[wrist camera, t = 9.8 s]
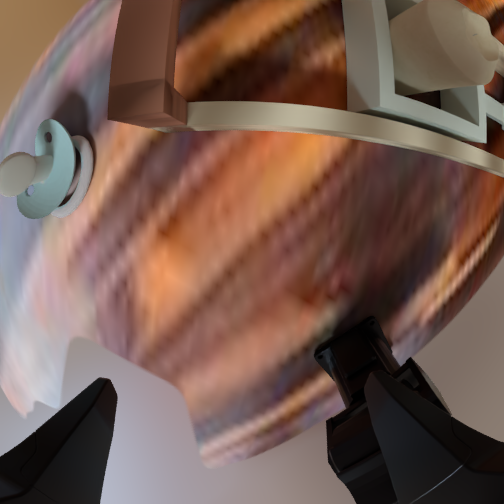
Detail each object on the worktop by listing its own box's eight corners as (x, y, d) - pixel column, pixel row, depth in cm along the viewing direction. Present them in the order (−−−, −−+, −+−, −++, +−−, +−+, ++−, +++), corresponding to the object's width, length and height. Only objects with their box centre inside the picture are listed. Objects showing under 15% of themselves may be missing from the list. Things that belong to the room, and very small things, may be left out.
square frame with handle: (509, 84, 14) (553, 85, 7) (512, 166, 18) (558, 179, 11) (341, -1, 12) (383, -44, 6) (347, 114, 16) (406, 101, 9)
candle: (344, 61, 15) (431, 10, 5) (376, 22, 13) (456, -26, 4) (398, 111, 16) (502, 105, 7) (425, 69, 15) (516, 52, 5)
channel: (511, 75, 14) (565, 76, 5) (514, 181, 18) (571, 202, 10) (180, -25, 11) (158, -97, 2) (166, 132, 16) (107, 119, 7)
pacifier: (112, 144, 16) (56, 113, 14) (66, 147, 10) (4, 110, 8) (74, 231, 18) (25, 196, 16) (31, 264, 12) (-24, 219, 10)
